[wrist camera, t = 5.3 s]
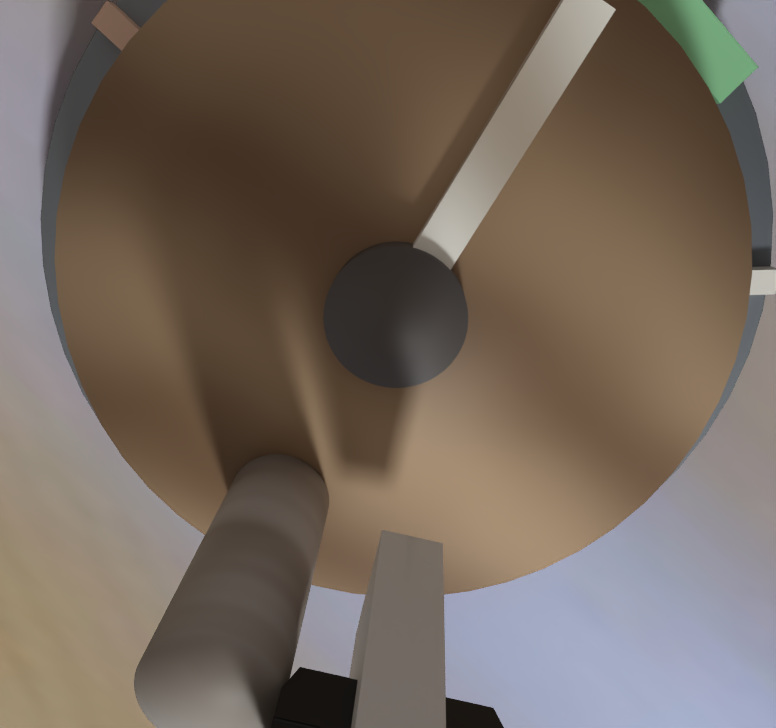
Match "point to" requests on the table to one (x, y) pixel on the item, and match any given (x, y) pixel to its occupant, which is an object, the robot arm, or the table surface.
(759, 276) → the gauge plate
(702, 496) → the table surface
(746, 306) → the dial
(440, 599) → the robot arm
